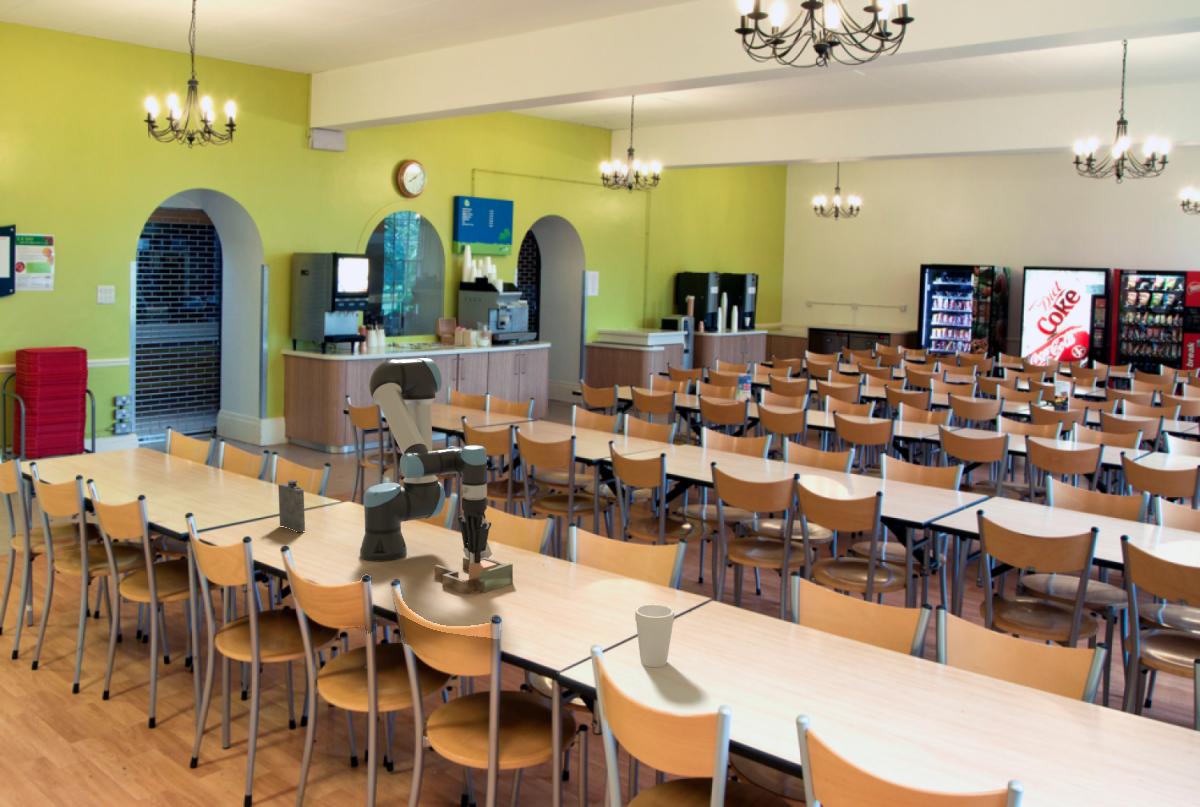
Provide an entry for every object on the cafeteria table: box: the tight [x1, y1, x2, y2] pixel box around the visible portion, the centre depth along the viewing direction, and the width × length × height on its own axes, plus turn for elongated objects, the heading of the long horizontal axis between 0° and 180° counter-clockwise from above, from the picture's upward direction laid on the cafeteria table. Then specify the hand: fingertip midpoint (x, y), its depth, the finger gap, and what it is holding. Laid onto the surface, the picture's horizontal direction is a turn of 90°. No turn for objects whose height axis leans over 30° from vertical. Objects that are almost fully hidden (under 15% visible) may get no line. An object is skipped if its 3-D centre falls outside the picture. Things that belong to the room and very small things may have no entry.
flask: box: [278, 479, 306, 533], centre depth 344 cm, size 4×14×18 cm, turn 49°
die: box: [462, 541, 493, 559], centre depth 307 cm, size 8×9×10 cm
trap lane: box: [434, 556, 514, 595], centre depth 290 cm, size 22×20×6 cm
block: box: [468, 560, 497, 580], centre depth 287 cm, size 6×6×6 cm
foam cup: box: [634, 603, 675, 668], centre depth 230 cm, size 10×9×13 cm
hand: (474, 572), depth 290 cm, fingers closed
